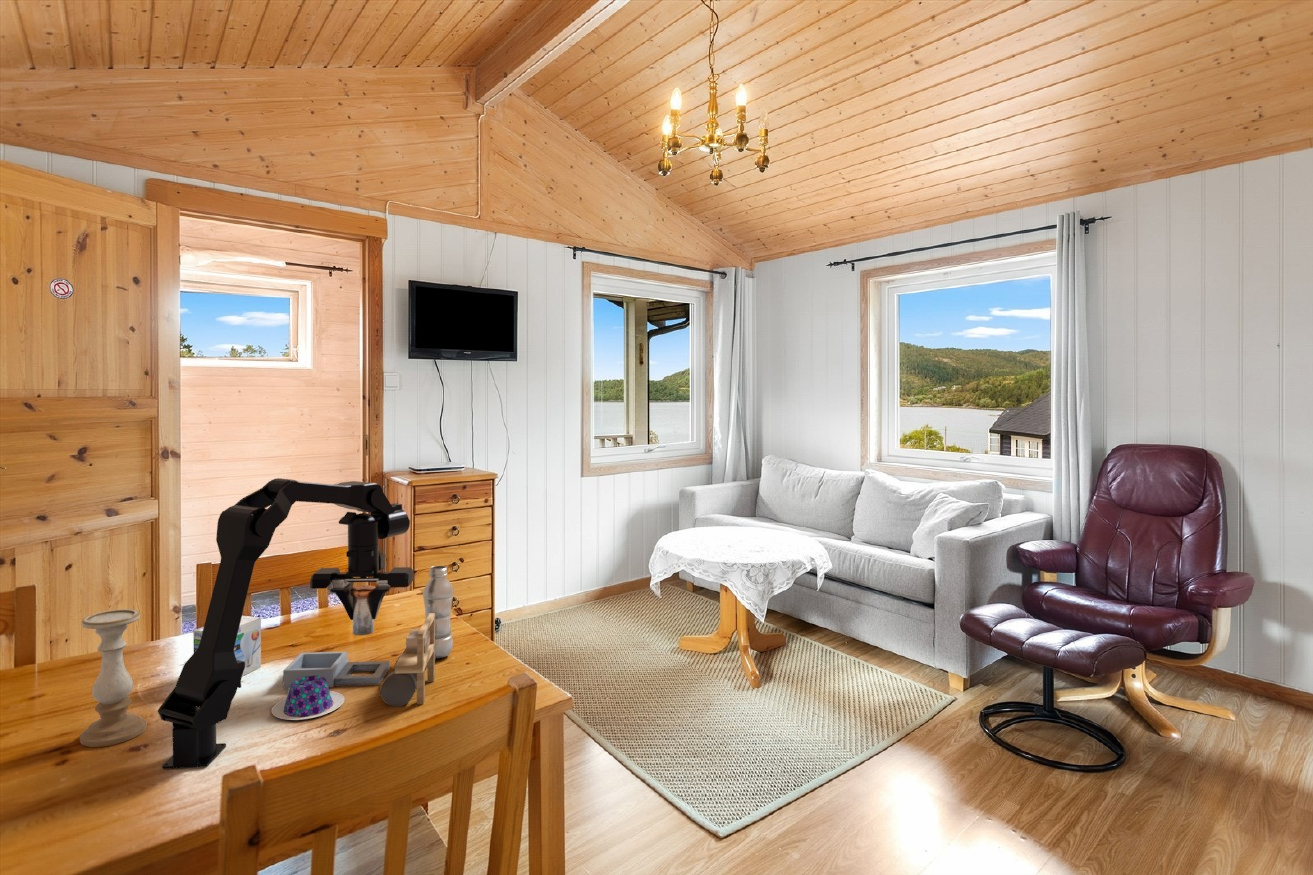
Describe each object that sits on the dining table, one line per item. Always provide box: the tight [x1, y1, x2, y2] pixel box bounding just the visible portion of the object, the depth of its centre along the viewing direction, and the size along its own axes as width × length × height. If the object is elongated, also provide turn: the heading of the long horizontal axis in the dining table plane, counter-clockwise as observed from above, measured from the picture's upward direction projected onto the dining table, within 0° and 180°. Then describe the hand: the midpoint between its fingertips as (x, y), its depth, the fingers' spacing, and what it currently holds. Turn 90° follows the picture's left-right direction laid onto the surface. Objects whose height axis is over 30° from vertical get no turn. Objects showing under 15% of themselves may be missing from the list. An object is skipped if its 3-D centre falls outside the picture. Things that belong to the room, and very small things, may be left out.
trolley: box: [379, 613, 436, 707], centre depth 133 cm, size 12×8×14 cm, turn 8°
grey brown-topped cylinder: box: [351, 585, 376, 636], centre depth 139 cm, size 5×5×9 cm
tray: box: [282, 651, 349, 690], centre depth 138 cm, size 9×9×4 cm
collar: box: [333, 660, 391, 687], centre depth 140 cm, size 8×8×2 cm
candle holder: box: [79, 608, 148, 748], centre depth 114 cm, size 9×9×20 cm
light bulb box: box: [192, 615, 262, 677], centre depth 139 cm, size 11×7×11 cm, turn 168°
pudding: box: [271, 675, 345, 721], centre depth 126 cm, size 12×12×5 cm
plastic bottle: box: [422, 565, 454, 660], centre depth 151 cm, size 6×7×20 cm
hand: (363, 619), depth 139 cm, fingers closed on grey brown-topped cylinder, 4 cm apart
